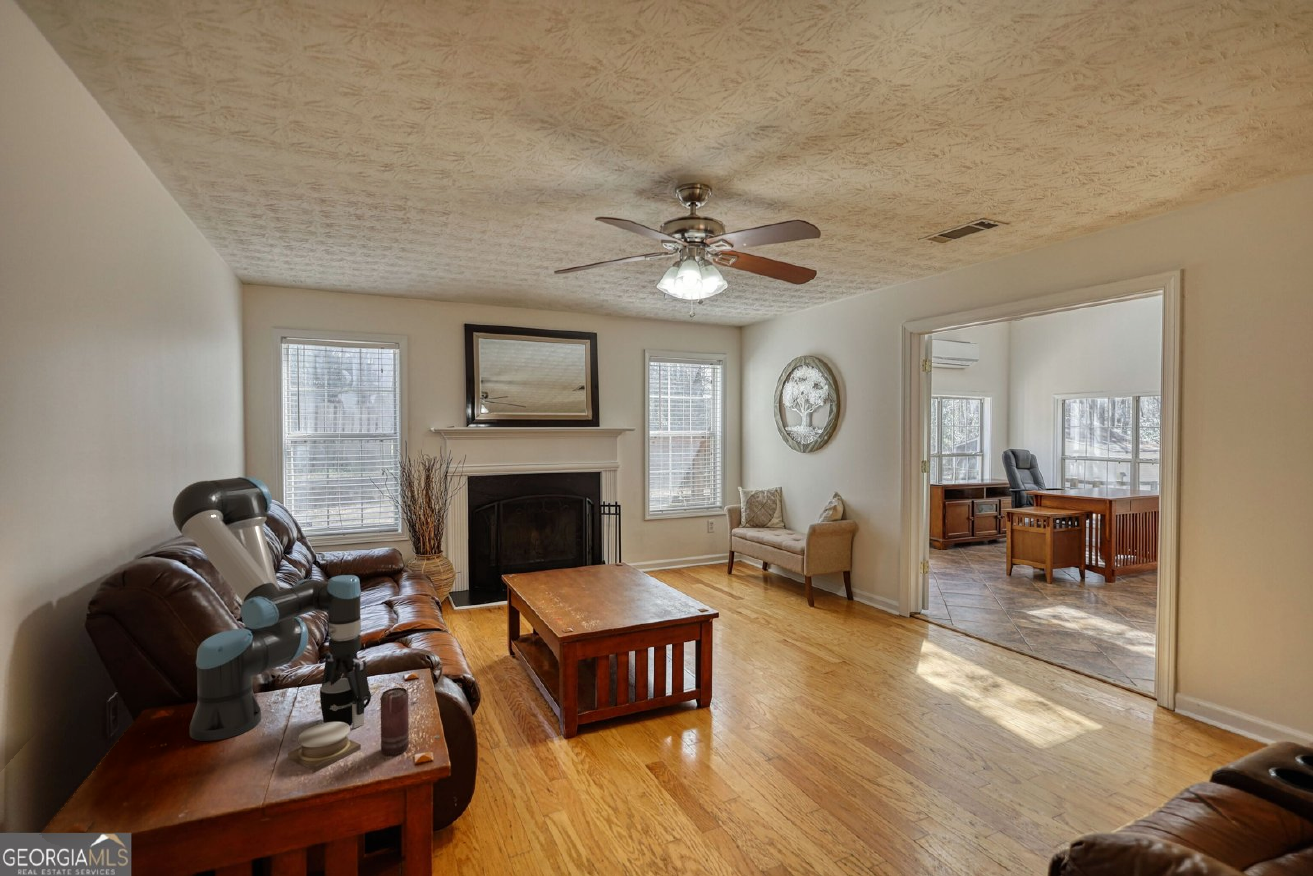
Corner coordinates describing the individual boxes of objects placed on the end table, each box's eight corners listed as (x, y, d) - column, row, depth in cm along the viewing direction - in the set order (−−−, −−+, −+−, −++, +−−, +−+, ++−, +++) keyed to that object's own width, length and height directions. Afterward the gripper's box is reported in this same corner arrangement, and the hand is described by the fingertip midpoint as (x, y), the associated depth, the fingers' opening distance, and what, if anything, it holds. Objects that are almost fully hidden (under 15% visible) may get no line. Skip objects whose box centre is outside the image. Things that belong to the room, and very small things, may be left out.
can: (379, 758, 146) (378, 699, 145) (383, 744, 152) (382, 688, 151) (406, 755, 147) (406, 696, 147) (410, 741, 153) (409, 685, 153)
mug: (323, 736, 156) (323, 696, 155) (317, 721, 163) (317, 683, 163) (375, 722, 163) (374, 684, 163) (367, 709, 170) (366, 672, 170)
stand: (288, 758, 146) (287, 737, 146) (332, 737, 155) (332, 717, 155) (316, 771, 140) (315, 749, 140) (360, 749, 150) (360, 728, 150)
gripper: (305, 633, 165) (306, 716, 165) (358, 649, 154) (359, 738, 154) (332, 624, 171) (333, 705, 172) (385, 639, 160) (386, 725, 161)
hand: (345, 721), depth 163 cm, fingers open, 9 cm apart
